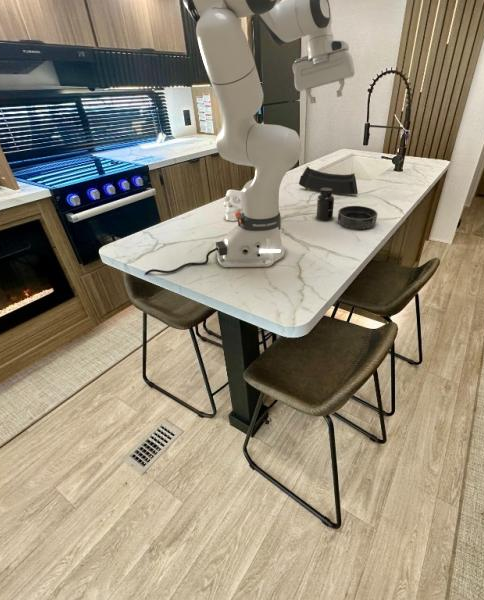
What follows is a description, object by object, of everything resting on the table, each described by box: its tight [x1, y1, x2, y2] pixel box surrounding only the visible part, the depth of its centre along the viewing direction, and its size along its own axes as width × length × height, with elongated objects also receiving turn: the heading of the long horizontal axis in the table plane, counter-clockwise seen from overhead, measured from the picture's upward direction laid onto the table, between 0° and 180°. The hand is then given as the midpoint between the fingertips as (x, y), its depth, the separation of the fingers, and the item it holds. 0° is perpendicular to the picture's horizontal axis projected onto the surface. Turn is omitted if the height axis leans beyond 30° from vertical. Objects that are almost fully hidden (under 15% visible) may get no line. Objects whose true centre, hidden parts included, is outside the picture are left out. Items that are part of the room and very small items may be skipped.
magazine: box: [298, 166, 359, 195], centre depth 161 cm, size 17×3×30 cm
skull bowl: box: [223, 189, 244, 222], centre depth 137 cm, size 10×14×12 cm
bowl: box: [337, 205, 379, 230], centre depth 130 cm, size 15×15×4 cm
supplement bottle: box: [316, 188, 335, 222], centre depth 132 cm, size 7×7×12 cm
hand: (326, 99), depth 112 cm, fingers open, 8 cm apart
